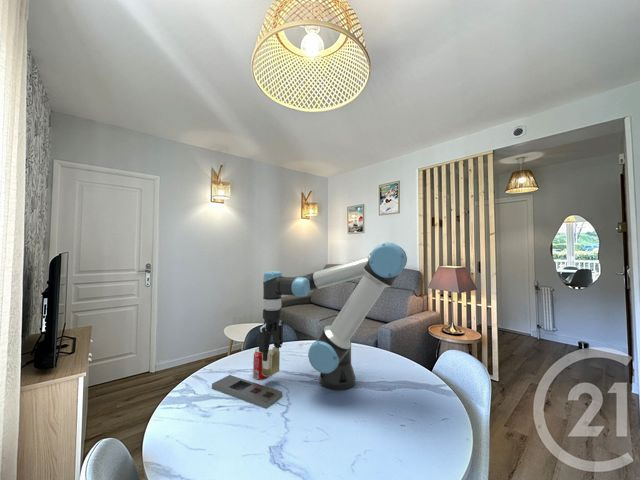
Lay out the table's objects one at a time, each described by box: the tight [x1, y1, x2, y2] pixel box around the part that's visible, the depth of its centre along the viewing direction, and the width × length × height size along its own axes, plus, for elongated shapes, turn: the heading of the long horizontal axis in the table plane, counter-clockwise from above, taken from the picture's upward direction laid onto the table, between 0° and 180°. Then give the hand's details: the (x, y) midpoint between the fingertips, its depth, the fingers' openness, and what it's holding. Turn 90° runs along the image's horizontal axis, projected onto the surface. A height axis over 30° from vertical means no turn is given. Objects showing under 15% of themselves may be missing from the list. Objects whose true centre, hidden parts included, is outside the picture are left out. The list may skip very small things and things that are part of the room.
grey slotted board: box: [211, 374, 283, 410], centre depth 103 cm, size 28×9×3 cm, turn 61°
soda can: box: [252, 347, 270, 380], centre depth 117 cm, size 7×7×12 cm
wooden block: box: [262, 348, 281, 377], centre depth 110 cm, size 5×5×8 cm
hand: (270, 365), depth 110 cm, fingers closed on wooden block, 5 cm apart
